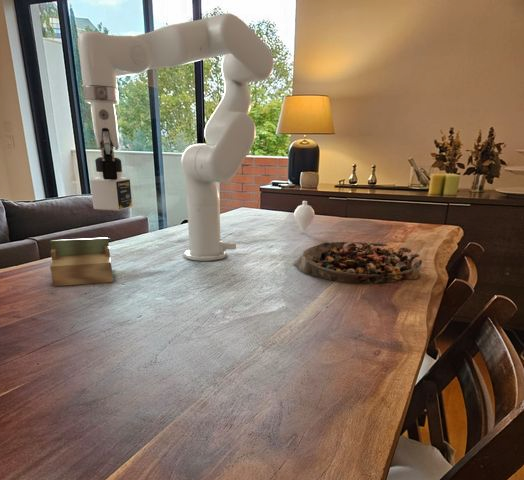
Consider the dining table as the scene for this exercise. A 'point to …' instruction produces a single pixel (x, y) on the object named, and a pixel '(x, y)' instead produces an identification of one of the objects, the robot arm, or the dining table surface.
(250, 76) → the robot arm
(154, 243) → the dining table surface
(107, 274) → the spice rack
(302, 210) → the spinning top
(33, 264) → the dining table surface
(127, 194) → the medicine bottle
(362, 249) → the food dish
